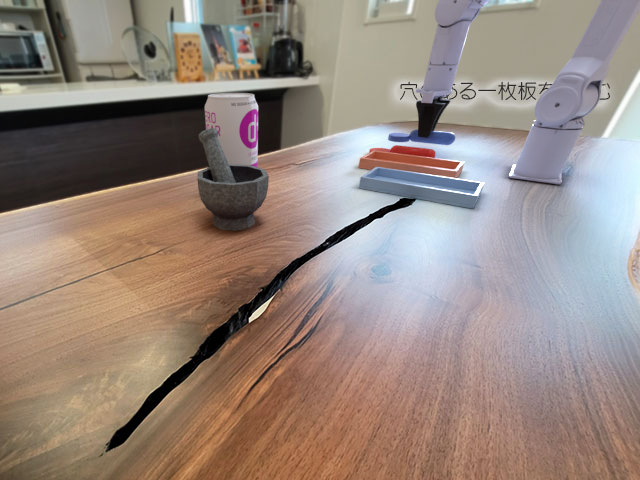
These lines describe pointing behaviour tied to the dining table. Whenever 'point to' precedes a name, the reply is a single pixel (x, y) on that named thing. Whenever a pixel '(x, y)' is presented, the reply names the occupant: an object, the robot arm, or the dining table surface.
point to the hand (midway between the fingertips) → (424, 135)
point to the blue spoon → (433, 138)
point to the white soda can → (235, 125)
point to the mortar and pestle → (230, 187)
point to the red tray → (412, 163)
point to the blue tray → (423, 186)
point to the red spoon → (407, 151)
